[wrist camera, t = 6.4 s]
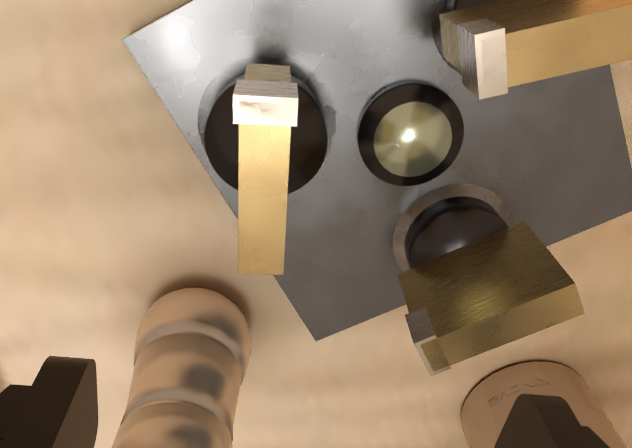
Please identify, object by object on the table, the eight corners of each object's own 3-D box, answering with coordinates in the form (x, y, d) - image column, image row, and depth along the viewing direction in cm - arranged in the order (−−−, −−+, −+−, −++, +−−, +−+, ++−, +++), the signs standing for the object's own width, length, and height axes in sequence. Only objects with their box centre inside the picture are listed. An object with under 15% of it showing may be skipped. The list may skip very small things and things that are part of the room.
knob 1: (319, 194, 29) (330, 276, 22) (210, 190, 28) (189, 272, 22) (331, 53, 25) (348, 101, 19) (207, 45, 25) (181, 91, 18)
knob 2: (586, -79, 23) (705, -77, 17) (583, 53, 26) (685, 99, 20) (418, -38, 24) (470, -21, 17) (432, 88, 26) (482, 144, 20)
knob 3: (500, 173, 29) (564, 249, 22) (528, 254, 31) (593, 343, 25) (373, 229, 30) (399, 316, 24) (410, 302, 33) (443, 399, 26)
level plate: (626, 201, 32) (653, 223, 30) (317, 329, 36) (320, 359, 33) (537, -192, 23) (567, -204, 20) (130, 33, 26) (115, 45, 24)
